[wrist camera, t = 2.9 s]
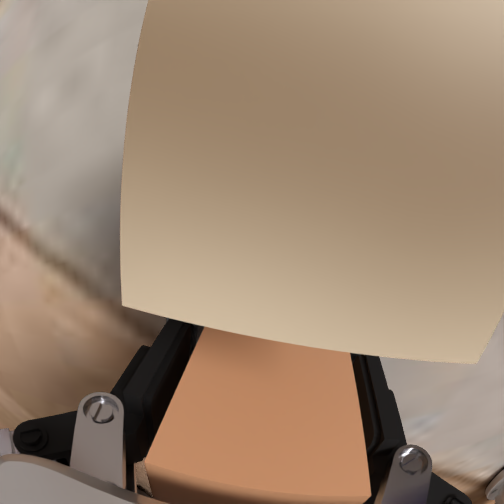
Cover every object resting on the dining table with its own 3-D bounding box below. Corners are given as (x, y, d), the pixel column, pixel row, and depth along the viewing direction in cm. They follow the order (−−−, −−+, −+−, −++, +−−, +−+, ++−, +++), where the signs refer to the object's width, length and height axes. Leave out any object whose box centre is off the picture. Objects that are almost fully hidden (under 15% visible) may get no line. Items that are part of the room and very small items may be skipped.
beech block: (364, 210, 11) (476, 364, 3) (238, 186, 11) (121, 306, 3) (387, 88, 9) (553, 26, 1) (258, 61, 9) (173, -79, 2)
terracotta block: (310, 382, 13) (307, 547, 6) (215, 364, 14) (160, 523, 6) (339, 301, 12) (371, 495, 4) (225, 280, 12) (144, 462, 5)
